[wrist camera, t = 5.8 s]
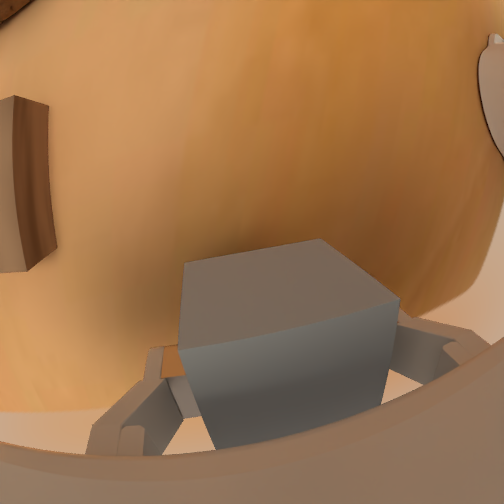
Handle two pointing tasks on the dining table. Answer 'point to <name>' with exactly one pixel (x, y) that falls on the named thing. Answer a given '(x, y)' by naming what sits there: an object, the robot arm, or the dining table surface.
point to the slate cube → (283, 340)
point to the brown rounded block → (10, 7)
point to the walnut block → (24, 185)
